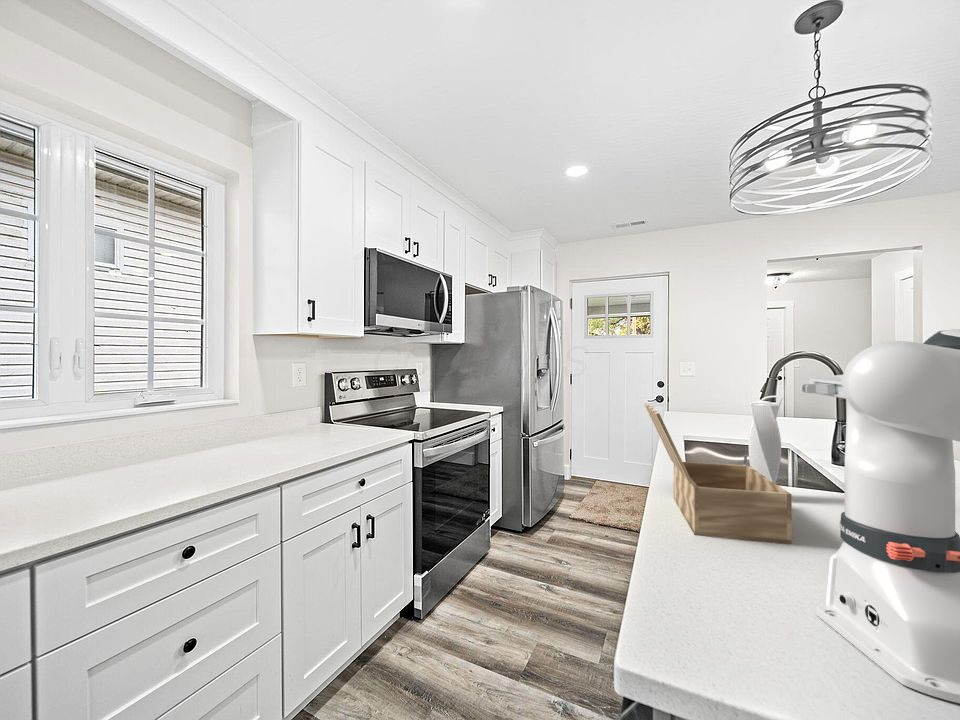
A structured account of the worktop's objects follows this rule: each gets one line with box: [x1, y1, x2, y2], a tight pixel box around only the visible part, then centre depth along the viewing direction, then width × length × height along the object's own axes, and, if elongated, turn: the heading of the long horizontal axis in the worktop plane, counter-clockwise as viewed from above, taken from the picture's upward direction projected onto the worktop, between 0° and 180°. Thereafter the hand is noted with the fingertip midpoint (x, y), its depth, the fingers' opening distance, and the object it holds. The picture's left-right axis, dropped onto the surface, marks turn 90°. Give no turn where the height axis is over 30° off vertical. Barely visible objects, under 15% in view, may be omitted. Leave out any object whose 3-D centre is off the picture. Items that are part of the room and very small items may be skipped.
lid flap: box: [644, 403, 692, 484], centre depth 106 cm, size 25×16×1 cm
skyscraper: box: [742, 395, 784, 484], centre depth 119 cm, size 8×8×28 cm
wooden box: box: [673, 461, 793, 545], centre depth 103 cm, size 26×18×10 cm
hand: (803, 388), depth 99 cm, fingers closed
